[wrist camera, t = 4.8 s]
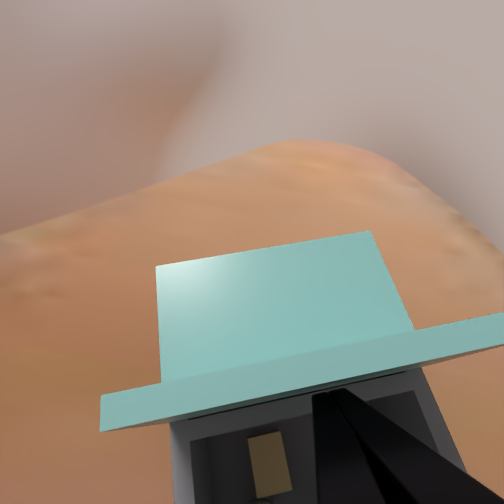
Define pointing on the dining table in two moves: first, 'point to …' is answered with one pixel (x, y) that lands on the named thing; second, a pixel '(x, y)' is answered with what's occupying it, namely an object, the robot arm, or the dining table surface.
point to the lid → (283, 330)
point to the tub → (288, 443)
